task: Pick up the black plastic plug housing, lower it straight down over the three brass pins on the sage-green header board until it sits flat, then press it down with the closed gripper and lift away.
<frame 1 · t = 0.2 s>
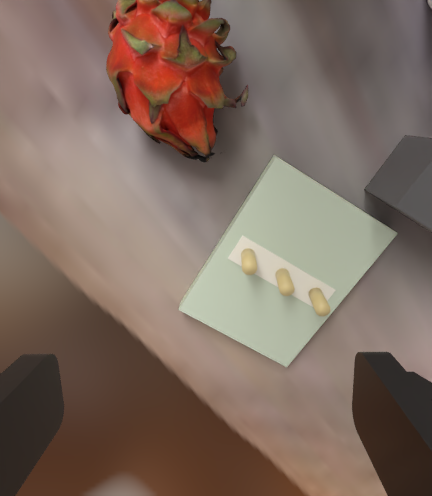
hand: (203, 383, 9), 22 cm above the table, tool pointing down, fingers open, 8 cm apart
dragon fruit: (184, 81, 28), on the table
header board: (279, 266, 32), on the table
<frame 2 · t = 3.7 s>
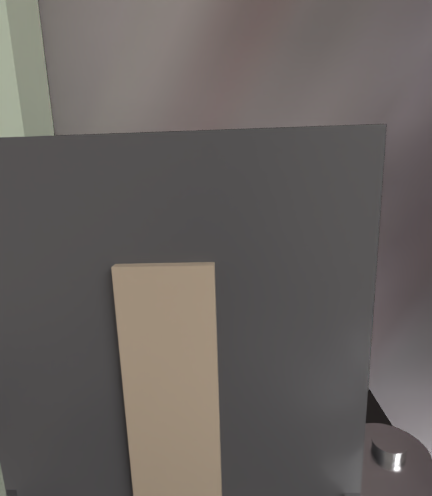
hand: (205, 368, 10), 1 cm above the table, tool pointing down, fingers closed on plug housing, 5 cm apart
plug housing: (207, 352, 11), on the table, touching gripper
when the fingers open (3 cm above the table, at t = 9.5 s): plug housing stays where it is, resting on header board.
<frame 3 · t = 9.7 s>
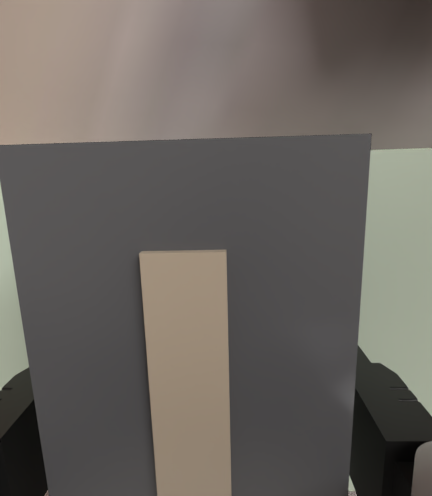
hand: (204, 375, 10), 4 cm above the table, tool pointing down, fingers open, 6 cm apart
plug housing: (213, 341, 12), point 1 cm above the table, touching header board
header board: (210, 322, 13), on the table
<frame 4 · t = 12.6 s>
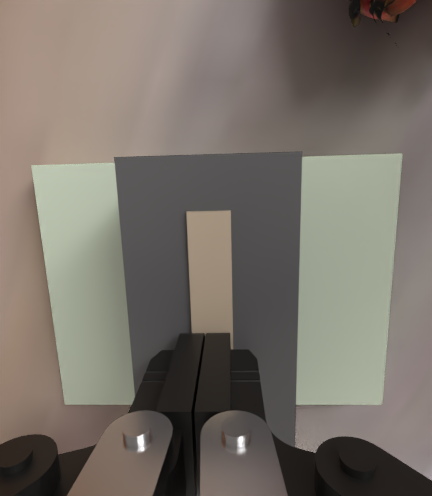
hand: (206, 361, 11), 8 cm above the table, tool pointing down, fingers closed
plug housing: (219, 292, 17), point 1 cm above the table, touching gripper, header board
header board: (217, 281, 18), on the table
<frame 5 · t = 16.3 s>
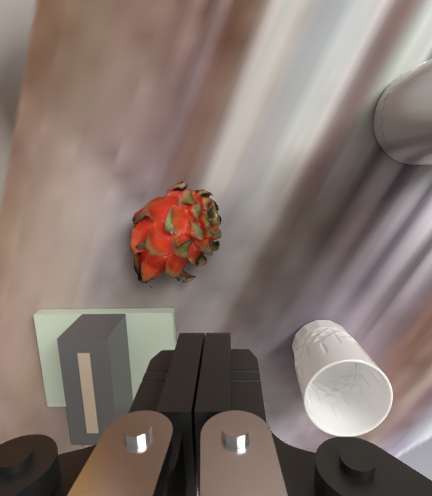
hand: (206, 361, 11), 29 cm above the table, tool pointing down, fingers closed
white cup: (320, 344, 42), on the table
plug housing: (108, 361, 41), point 1 cm above the table, touching header board
dragon fruit: (178, 230, 40), on the table
header board: (111, 355, 43), on the table
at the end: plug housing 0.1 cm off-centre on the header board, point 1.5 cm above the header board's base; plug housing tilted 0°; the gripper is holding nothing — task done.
